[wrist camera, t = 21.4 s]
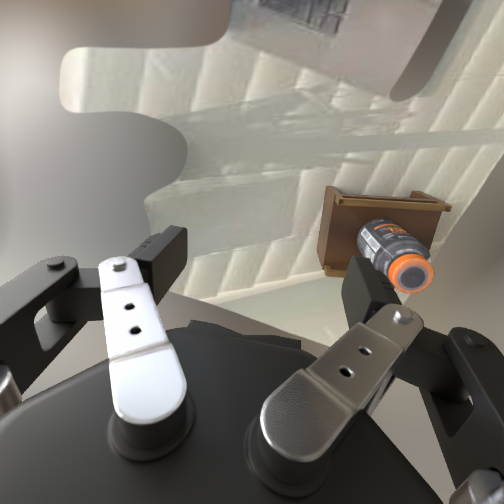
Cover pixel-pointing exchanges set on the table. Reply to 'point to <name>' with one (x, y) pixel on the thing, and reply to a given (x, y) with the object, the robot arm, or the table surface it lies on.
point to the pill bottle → (396, 255)
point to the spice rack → (364, 211)
